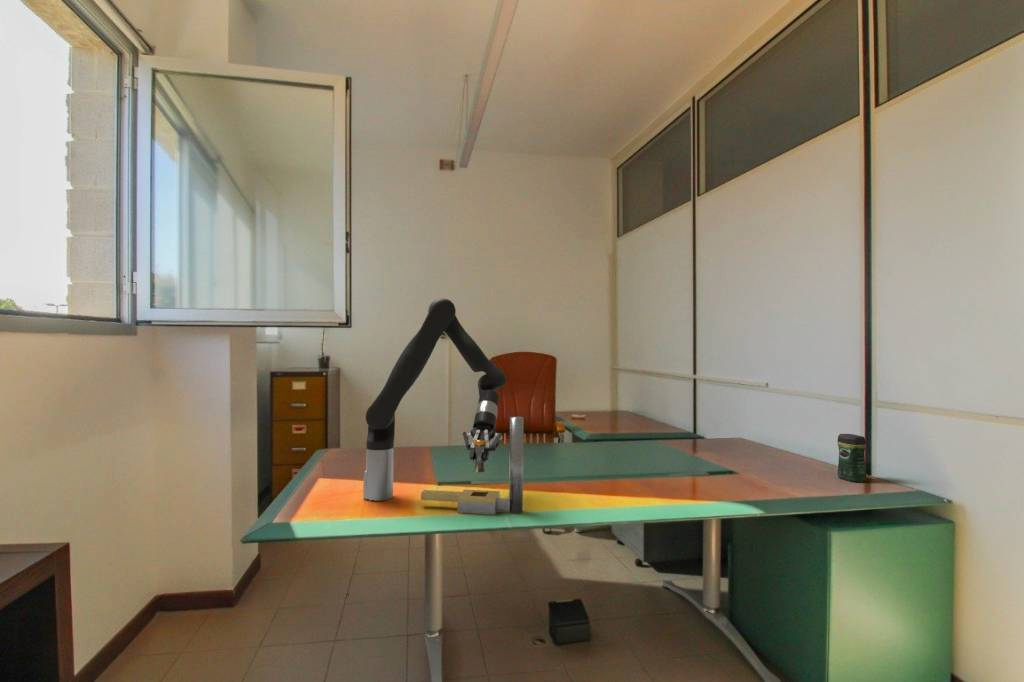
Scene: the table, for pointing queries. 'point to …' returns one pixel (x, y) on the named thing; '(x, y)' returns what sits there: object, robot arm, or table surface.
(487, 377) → the robot arm
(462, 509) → the grey l-shaped piece
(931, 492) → the table surface
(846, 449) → the coffee jar
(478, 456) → the wedge pin
